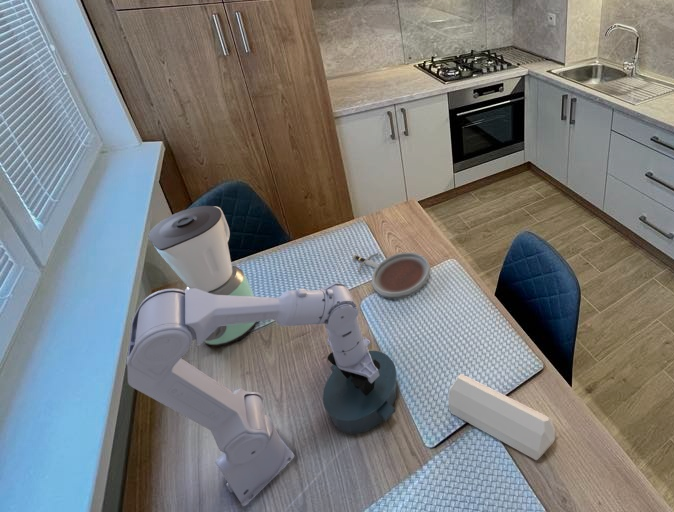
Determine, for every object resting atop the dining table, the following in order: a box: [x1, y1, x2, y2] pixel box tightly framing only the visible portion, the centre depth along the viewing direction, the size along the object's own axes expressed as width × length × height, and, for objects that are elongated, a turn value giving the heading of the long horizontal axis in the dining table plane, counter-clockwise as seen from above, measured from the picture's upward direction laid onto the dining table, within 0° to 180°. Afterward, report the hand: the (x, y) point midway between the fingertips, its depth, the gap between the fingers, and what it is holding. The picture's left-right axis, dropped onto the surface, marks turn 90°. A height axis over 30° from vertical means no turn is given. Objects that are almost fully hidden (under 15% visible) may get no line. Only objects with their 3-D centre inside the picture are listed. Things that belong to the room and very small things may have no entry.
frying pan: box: [352, 251, 431, 300], centre depth 122 cm, size 17×3×28 cm
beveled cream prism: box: [447, 373, 556, 461], centre depth 84 cm, size 7×7×24 cm
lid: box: [322, 350, 397, 422], centre depth 85 cm, size 15×15×5 cm
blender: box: [147, 205, 258, 347], centre depth 100 cm, size 19×13×35 cm
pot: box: [330, 364, 398, 435], centre depth 87 cm, size 14×19×6 cm
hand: (359, 382), depth 86 cm, fingers open, 6 cm apart
